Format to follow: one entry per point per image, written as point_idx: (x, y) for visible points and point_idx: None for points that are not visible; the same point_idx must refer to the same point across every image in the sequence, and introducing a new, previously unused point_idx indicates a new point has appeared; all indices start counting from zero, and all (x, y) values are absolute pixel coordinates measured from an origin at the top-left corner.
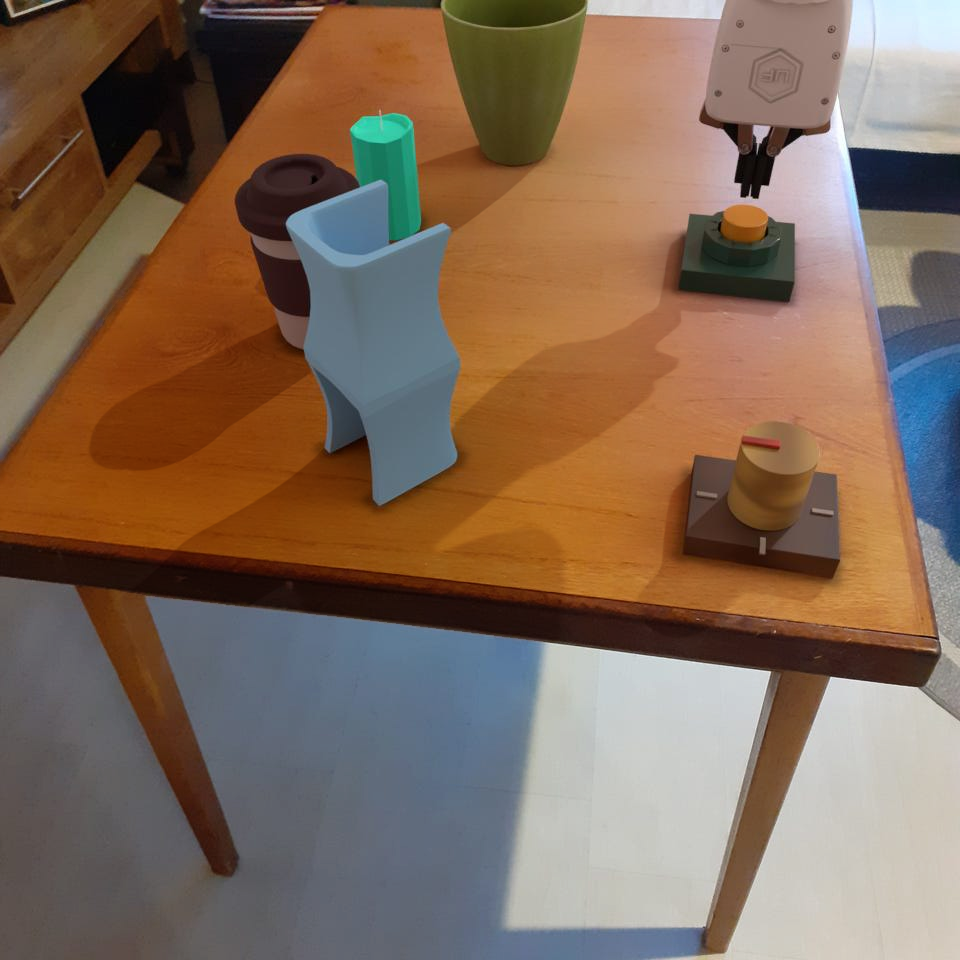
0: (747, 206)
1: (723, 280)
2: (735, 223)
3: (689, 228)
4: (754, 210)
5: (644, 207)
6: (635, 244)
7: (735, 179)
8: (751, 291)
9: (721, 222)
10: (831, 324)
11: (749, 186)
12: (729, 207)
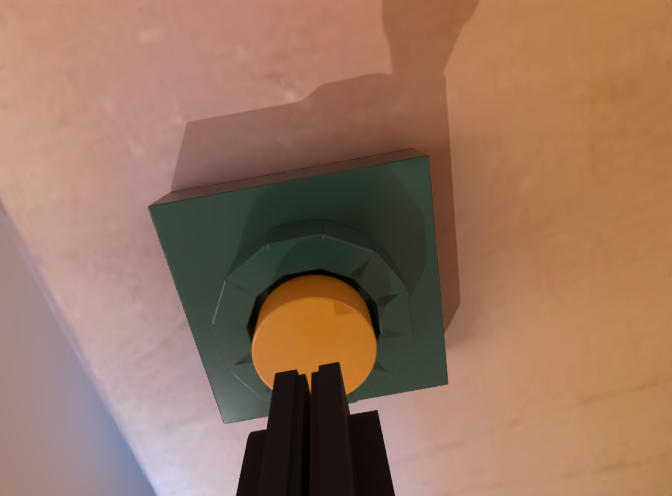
0: None
1: (318, 172)
2: (332, 307)
3: (439, 331)
4: None
5: (527, 405)
6: (529, 283)
7: (376, 416)
8: (251, 180)
9: None
10: (54, 143)
11: (315, 397)
12: (366, 374)
